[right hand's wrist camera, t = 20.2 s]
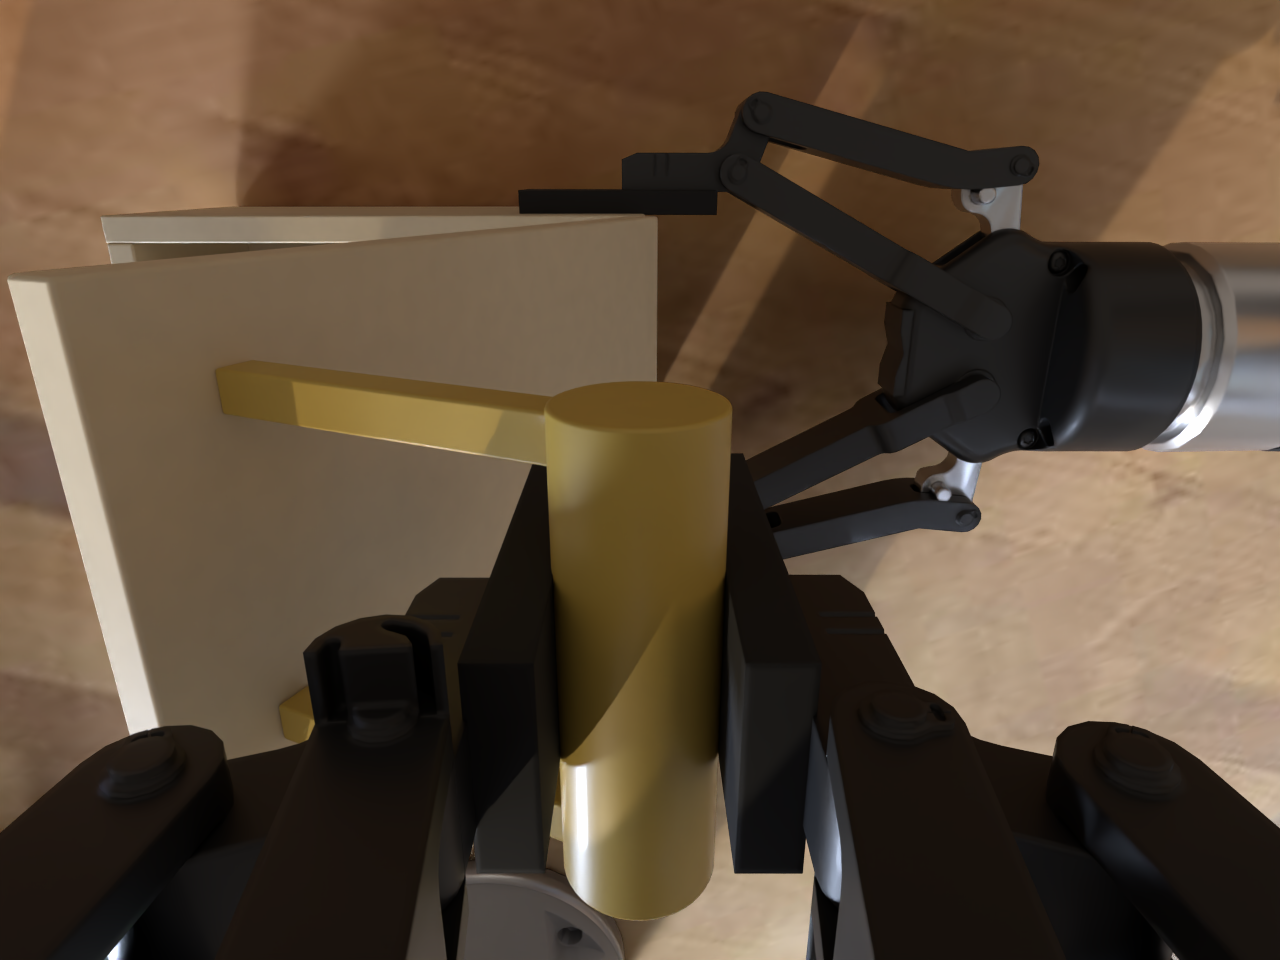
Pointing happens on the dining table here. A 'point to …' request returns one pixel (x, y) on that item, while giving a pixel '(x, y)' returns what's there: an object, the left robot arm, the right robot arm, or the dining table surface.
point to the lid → (405, 495)
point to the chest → (298, 227)
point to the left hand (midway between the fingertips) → (531, 348)
